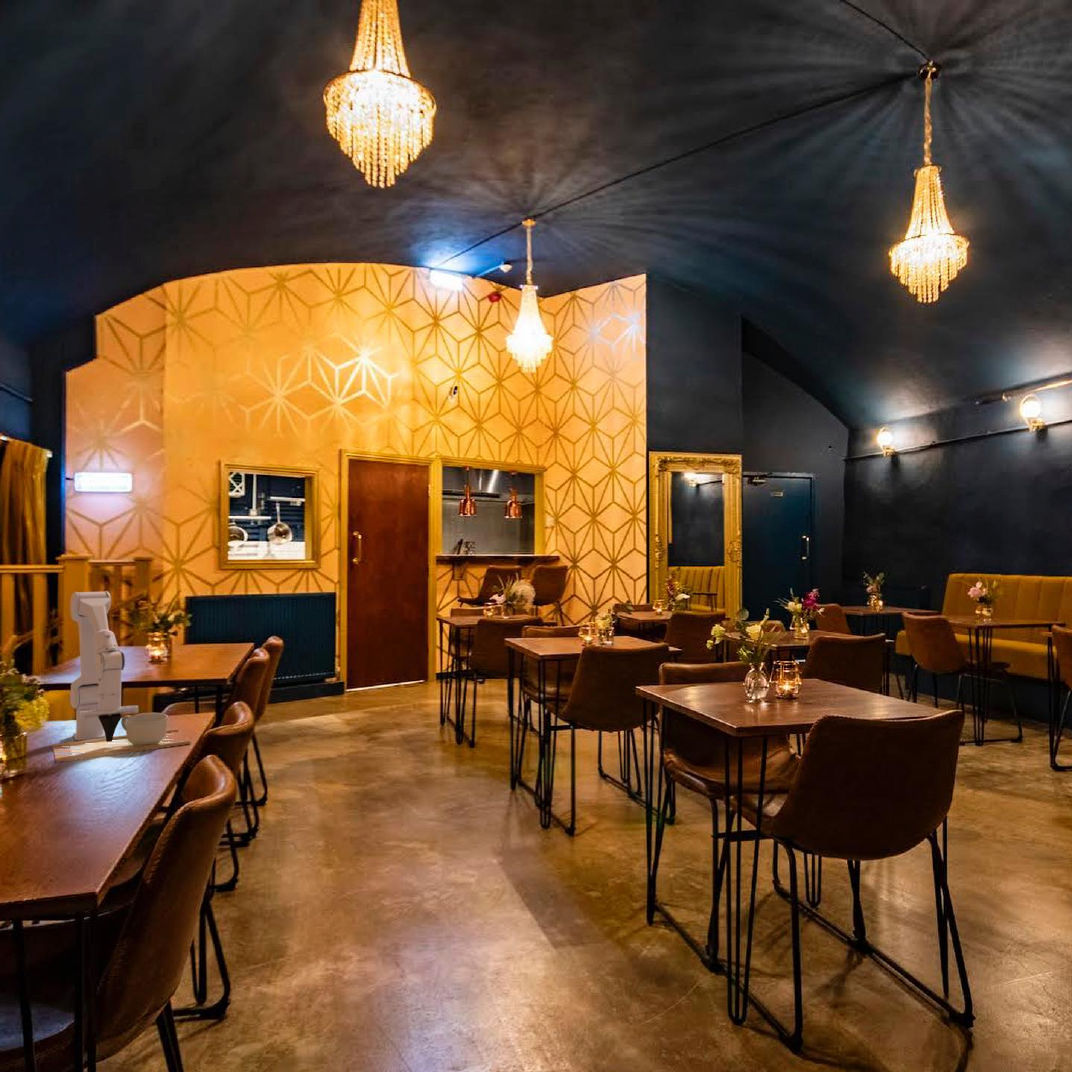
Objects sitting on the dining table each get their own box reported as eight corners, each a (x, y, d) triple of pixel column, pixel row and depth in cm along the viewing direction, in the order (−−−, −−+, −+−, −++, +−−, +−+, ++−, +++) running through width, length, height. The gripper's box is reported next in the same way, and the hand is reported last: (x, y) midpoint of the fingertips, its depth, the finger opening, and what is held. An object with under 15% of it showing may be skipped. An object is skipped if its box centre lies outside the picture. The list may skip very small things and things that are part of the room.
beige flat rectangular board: (52, 747, 215) (52, 744, 215) (177, 731, 234) (177, 728, 234) (56, 762, 200) (56, 758, 200) (190, 744, 219) (190, 740, 219)
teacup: (174, 743, 220) (176, 715, 220) (141, 751, 210) (142, 722, 210) (143, 736, 226) (144, 709, 226) (108, 743, 216) (110, 715, 216)
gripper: (81, 698, 208) (81, 747, 207) (140, 692, 216) (139, 740, 216) (79, 694, 214) (78, 742, 213) (136, 689, 222) (135, 735, 222)
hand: (109, 741), depth 215 cm, fingers closed
